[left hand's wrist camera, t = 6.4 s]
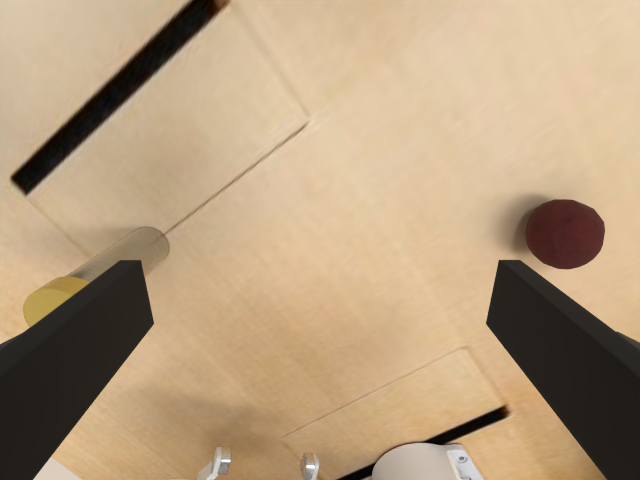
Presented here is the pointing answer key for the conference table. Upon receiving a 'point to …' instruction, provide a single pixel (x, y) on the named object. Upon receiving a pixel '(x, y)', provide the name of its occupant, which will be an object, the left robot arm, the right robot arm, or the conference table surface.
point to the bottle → (127, 253)
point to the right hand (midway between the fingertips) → (269, 454)
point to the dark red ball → (565, 233)
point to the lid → (50, 297)
